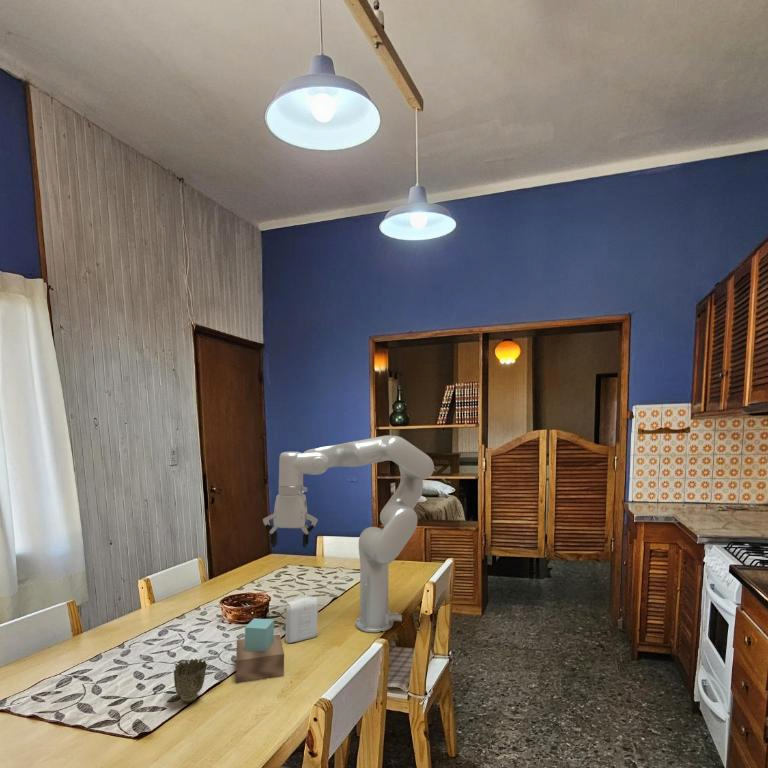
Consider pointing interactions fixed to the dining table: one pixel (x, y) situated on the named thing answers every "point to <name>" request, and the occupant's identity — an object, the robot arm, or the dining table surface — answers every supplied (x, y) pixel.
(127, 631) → the dining table surface
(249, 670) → the walnut block
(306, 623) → the photo printer
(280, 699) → the dining table surface
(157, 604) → the dining table surface
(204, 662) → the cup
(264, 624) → the teal cube
